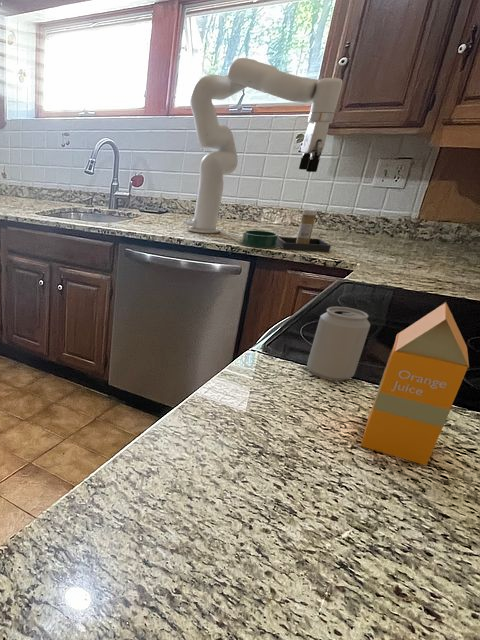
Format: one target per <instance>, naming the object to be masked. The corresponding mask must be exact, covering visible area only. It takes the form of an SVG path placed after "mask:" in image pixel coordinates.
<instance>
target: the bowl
mask: <svg viewBox="0 0 480 640" xmlns="http://www.w3.org/2000/svg"><path fill="white" fill-rule="evenodd" d="M242 233H243V234H242V238H241V244H242V245H244V246H246V247H251V248H257V249H258V248H259V249H270V248H271V249H272V248H275V247H276V246H277V244H276V242H277V238H278V237H279V234H278V233H276V232H272V231H267V230H255V229H251V230H244V231H243V232H242Z"/></svg>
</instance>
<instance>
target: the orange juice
mask: <svg viewBox="0 0 480 640" xmlns="http://www.w3.org/2000/svg"><path fill="white" fill-rule="evenodd" d="M469 368H470V363H469V353H468V346H467V344H466V342H465V339H464V338H463V336H462V333H461V331H460V329H459V327H458V325H457V322H456V320H455V318H454V315H453V314H452V312H451V310H450V308H449V305H448V303H447V301H444V302H443V303H442V304H441V305H439V306H438V307H436V308H435V309H434V310H432V311H430V312H429V313H427V314H426V315H424V316H423V317H421V318H420V319H418V320H417V321H415V322H413V323H412V324H410V325H409V326H408V327H406V328H405V329H403V330H401V331H400V332H397V334H396V336H395V340H394V344H393V346H392V349H391V351H390V354H389V357H388V360H387V363H386V366H385V368H384V370H383V374H382V377H381V379H380V382H379V385H378V389H377V392H376V395H375V397H374V401H373V403H372V407H371V408H370V412H369V416H368V418H367V421H366V424H365V428H364V432H363V436H362V439H361V443H360V447H361V448H362V447H363V448H366V449H369V450H373V451H376V452H380V453H382V454H385V455H389V456H393V457H396V458H399V459H402V460H406V461H409V462H413V463H416V464H419V465H422V466H427V465H428V463H429V461H430V458H431V457H432V453H433V451H434V450H435V447H436V444H437V442H438V439H439V437H440V435H441V432H442V430H443V428H444V427H445V424H446V421H447V419H448V416H449V415H450V412H451V409H452V406H453V403H454V401H455V399H456V397H457V394H458V392H459V389H460V388H461V385H462V382H463V380H464V377H465V375H466V373H467V371H468V369H469Z"/></svg>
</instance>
